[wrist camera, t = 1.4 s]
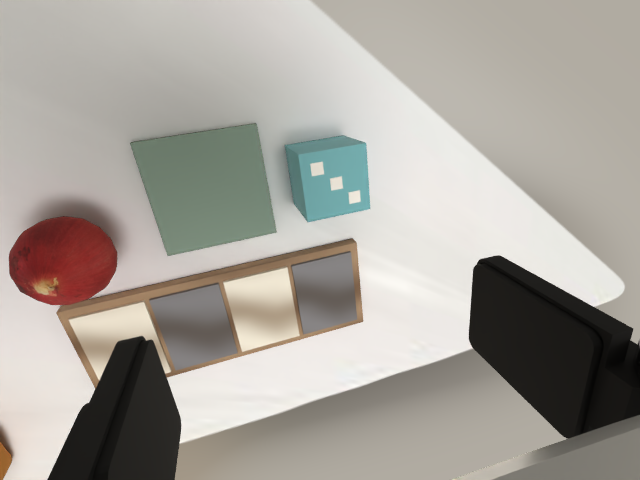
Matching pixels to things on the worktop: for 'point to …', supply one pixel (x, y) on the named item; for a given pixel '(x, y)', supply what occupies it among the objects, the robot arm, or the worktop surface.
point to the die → (329, 177)
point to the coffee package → (4, 461)
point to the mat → (206, 187)
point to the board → (223, 310)
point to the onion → (62, 261)
